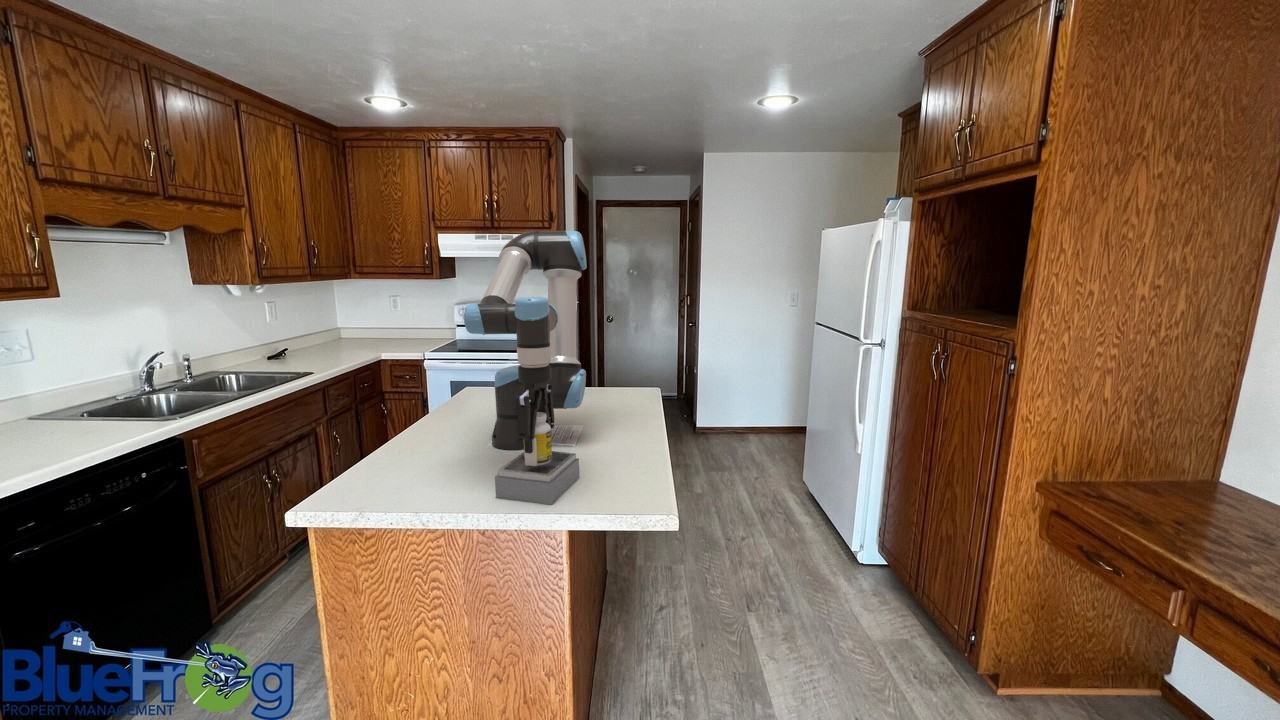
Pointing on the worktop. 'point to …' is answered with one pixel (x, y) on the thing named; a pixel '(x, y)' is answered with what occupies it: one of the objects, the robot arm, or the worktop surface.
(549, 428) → the pill bottle
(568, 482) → the square metal tray
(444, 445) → the worktop surface
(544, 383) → the robot arm
